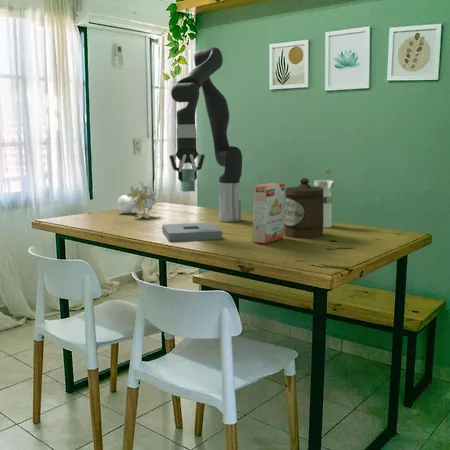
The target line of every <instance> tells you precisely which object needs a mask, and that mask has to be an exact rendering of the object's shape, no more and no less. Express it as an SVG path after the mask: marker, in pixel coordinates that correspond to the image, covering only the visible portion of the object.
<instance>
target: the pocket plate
mask: <svg viewBox="0 0 450 450" xmlns="http://www.w3.org/2000/svg"><path fill="white" fill-rule="evenodd" d="M161 229H162V230H161V231H162V233H163V235H164V236H165V238H166V239H167V240H168V242H184V241H185V242H186V241H187V242H189V241H205V240H206V241H207V240H209V239H210V240H222V239H223V231H222V229H221V228H219V227H218V226H216V225H215V224H213V223H212V222H198V223H197V222H196V223H194V222H193V223H192V222H191V223H173V224H172V223H169V224H168V223H167V224H166V223H165V224H162V226H161Z"/></svg>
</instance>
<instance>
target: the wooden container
mask: <svg viewBox="0 0 450 450" xmlns="http://www.w3.org/2000/svg"><path fill="white" fill-rule="evenodd" d="M309 182H310V180H309V179H308V178H307V177H305V178H304V177H302V178H301V179H300V181H299V183H300V184H299V185H298V186H290V187H286V188H284V196H285V200H284V209H285V210H284V235H285V236H287V237H292V238H301V239H307V238H308V239H311V238H312V239H313V238H319V237H323V235H324V228H323V188H320V187H316V186H311V185H310V184H309Z"/></svg>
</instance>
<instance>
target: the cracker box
mask: <svg viewBox="0 0 450 450" xmlns="http://www.w3.org/2000/svg"><path fill="white" fill-rule="evenodd" d="M285 189H286V188H285V183H282V182H270V183H268V182H267V183H264V184H256V185H253V194H252V195H253V197H252V198H253V202H252V204H253V206H252V207H253V208H252V243H257V244H264V245H265V244H270V243H272V242H274V241H278V240H281V239H283V238H284V222H285V210H284V209H285Z"/></svg>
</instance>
